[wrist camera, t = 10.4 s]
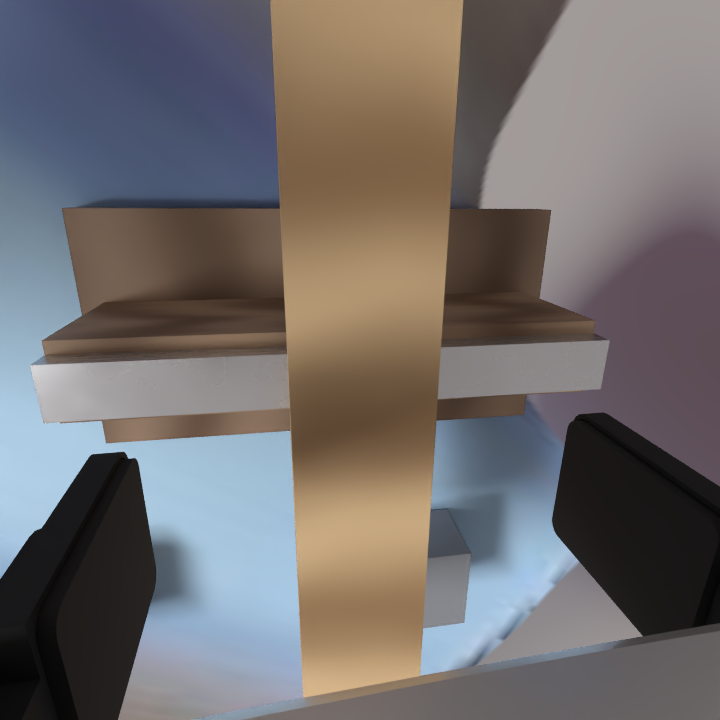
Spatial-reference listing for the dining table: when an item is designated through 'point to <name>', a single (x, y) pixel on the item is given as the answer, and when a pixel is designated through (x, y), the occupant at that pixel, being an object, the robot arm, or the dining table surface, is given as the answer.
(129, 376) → the stand
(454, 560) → the pair of grey cubes
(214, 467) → the dining table surface
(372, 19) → the oak batten
